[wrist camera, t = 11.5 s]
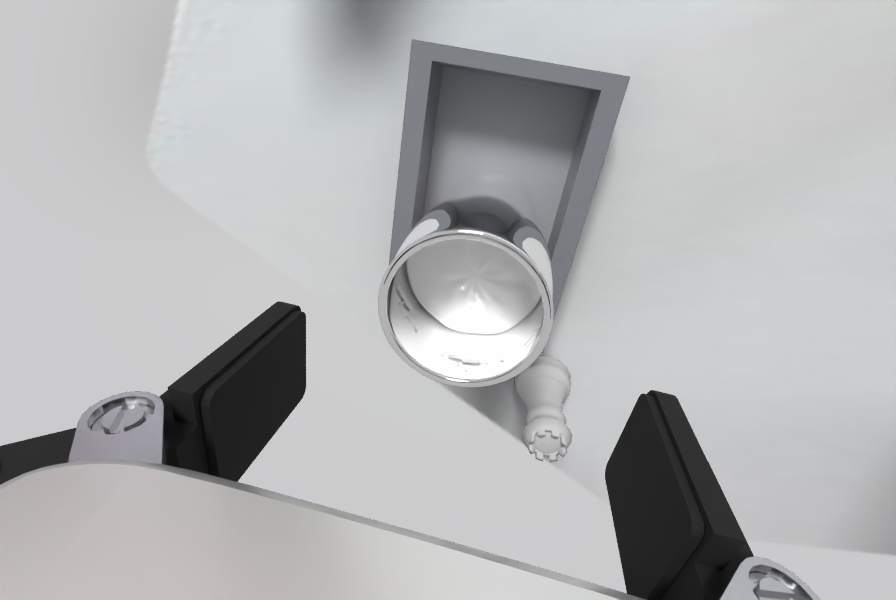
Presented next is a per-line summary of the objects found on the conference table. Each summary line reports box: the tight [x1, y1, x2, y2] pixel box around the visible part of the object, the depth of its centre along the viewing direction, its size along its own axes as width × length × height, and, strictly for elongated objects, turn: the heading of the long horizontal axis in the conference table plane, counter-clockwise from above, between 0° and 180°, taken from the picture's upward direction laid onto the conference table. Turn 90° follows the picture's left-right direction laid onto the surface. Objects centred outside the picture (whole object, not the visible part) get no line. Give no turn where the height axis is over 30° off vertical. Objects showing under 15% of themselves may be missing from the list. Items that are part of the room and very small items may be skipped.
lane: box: [389, 39, 630, 353], centre depth 26 cm, size 11×17×5 cm
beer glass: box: [378, 172, 554, 387], centre depth 22 cm, size 7×7×15 cm
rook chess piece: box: [515, 356, 572, 462], centre depth 30 cm, size 4×4×8 cm
